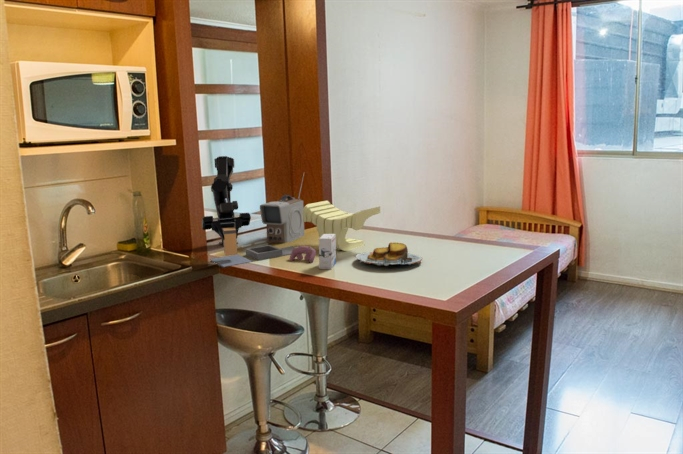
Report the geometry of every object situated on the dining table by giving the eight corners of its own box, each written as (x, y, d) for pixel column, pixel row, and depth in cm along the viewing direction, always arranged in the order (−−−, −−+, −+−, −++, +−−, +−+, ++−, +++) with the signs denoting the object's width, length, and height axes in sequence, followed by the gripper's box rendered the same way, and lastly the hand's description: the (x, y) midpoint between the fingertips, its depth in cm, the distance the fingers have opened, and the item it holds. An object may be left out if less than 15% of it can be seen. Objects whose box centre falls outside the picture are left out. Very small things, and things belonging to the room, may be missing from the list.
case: (245, 256, 234) (245, 248, 234) (292, 248, 246) (291, 241, 246) (258, 261, 226) (257, 253, 225) (305, 252, 238) (305, 245, 237)
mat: (209, 260, 228) (209, 259, 228) (237, 255, 235) (237, 254, 235) (224, 267, 217) (223, 266, 217) (252, 262, 224) (252, 261, 224)
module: (224, 253, 227) (222, 228, 225) (235, 252, 228) (234, 227, 226) (225, 255, 223) (224, 230, 221) (237, 254, 224) (236, 229, 222)
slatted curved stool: (303, 245, 251) (302, 205, 247) (328, 238, 263) (327, 200, 259) (356, 255, 231) (355, 211, 228) (380, 247, 243) (380, 206, 240)
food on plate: (343, 261, 224) (343, 244, 223) (394, 252, 237) (394, 236, 236) (381, 275, 203) (381, 257, 202) (435, 264, 216) (435, 247, 215)
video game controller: (315, 265, 224) (318, 247, 226) (311, 262, 220) (314, 244, 222) (292, 263, 227) (294, 246, 229) (288, 261, 223) (290, 243, 225)
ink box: (324, 263, 221) (323, 233, 218) (337, 263, 220) (336, 233, 217) (318, 269, 213) (317, 238, 210) (332, 269, 212) (331, 238, 209)
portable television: (260, 244, 255) (257, 177, 249) (285, 233, 276) (283, 171, 270) (284, 246, 250) (281, 177, 244) (308, 235, 271) (306, 171, 265)
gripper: (200, 196, 221) (207, 229, 213) (248, 192, 228) (256, 224, 220) (198, 213, 230) (205, 245, 222) (244, 209, 237) (252, 240, 229)
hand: (230, 238), depth 223 cm, fingers closed on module, 5 cm apart
